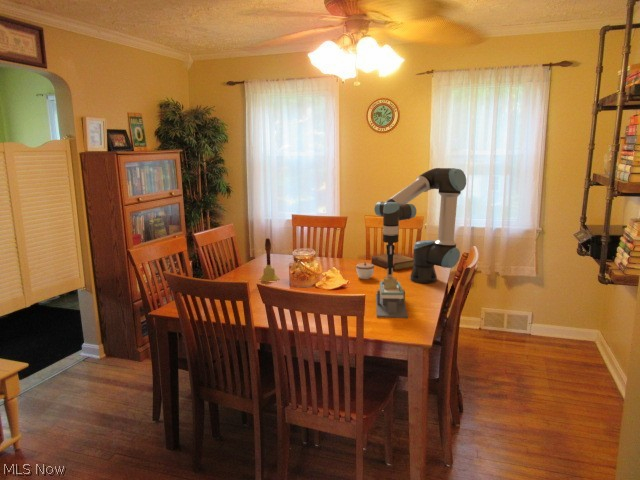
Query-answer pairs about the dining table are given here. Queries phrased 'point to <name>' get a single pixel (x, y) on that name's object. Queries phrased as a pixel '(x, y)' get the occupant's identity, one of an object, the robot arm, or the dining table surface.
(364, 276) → the lidded jar
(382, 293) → the seesaw beam
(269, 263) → the handbell
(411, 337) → the dining table surface
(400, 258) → the diary
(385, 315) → the seesaw stand
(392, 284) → the beige square block
